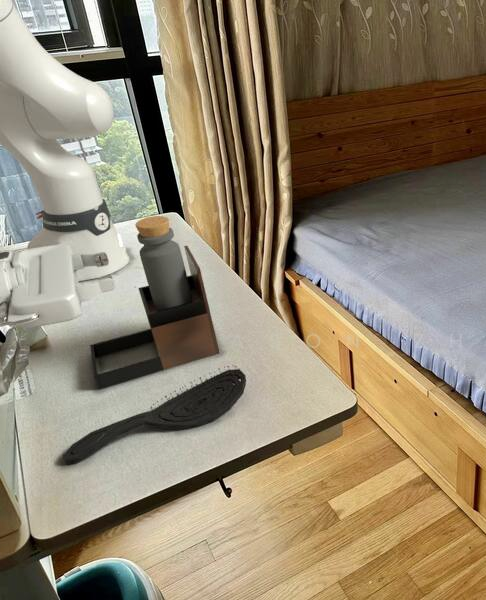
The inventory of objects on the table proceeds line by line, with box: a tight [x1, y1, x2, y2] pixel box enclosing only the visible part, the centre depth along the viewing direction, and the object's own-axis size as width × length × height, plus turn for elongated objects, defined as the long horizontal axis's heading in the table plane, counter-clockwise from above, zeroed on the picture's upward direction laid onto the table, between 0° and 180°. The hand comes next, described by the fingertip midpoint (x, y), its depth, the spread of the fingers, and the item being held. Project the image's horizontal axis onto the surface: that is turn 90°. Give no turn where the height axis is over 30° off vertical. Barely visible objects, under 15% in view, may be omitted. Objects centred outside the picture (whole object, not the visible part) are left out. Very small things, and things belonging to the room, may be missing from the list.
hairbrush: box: [62, 364, 247, 465], centre depth 76 cm, size 8×4×25 cm
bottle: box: [135, 215, 193, 311], centre depth 85 cm, size 6×6×15 cm
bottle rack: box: [89, 245, 220, 391], centre depth 87 cm, size 18×10×16 cm, turn 120°
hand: (110, 269), depth 82 cm, fingers open, 8 cm apart
